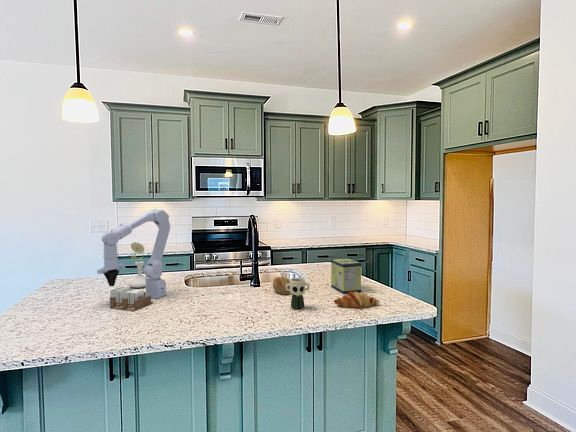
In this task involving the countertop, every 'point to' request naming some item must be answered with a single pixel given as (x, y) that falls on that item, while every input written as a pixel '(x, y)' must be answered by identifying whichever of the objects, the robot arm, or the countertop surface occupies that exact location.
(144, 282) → the flower in vase
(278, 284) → the bread roll
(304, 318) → the countertop surface
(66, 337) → the countertop surface
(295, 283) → the character mug
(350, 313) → the countertop surface
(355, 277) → the protein box
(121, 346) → the countertop surface
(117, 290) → the syrup box
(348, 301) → the croissant
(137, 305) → the rest
